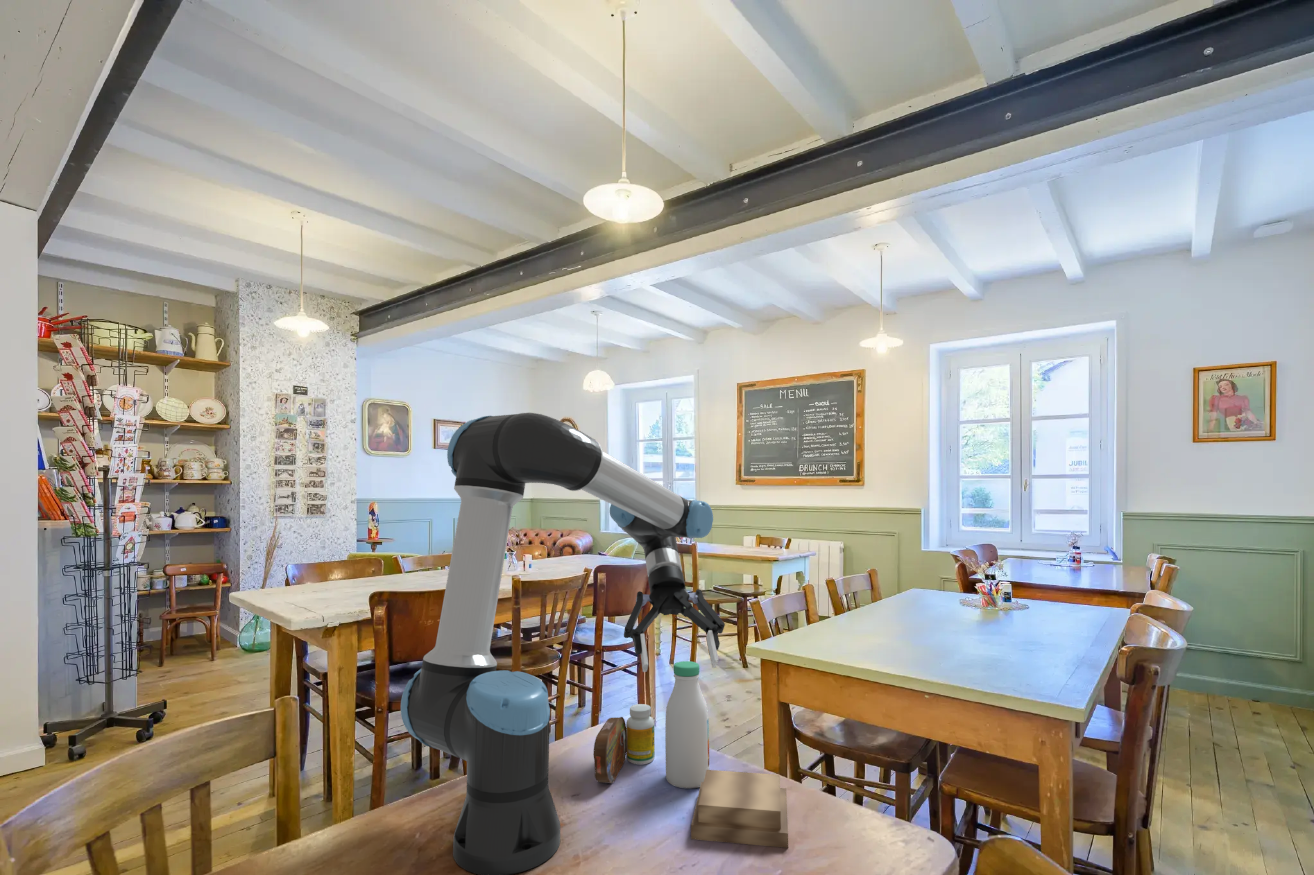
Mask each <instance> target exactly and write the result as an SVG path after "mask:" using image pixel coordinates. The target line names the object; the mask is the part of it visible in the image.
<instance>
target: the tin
mask: <svg viewBox="0 0 1314 875" xmlns="http://www.w3.org/2000/svg"><path fill="white" fill-rule="evenodd" d="M626 758H627V757H626V721H625V718H624V717H623V716H620V717H619V716H618V717H609V718H608V719H606V721H605V722H604V724H603V726H602V727H601V729H600V730H599V732H598V733H597V735H596V736H595V741H594V745H593V761H594V762H593V763H594V764H593V765H594V778H595V780H596V781H597V782H598V783H602V784H603V783H604V784H605V783H606V784H614V783H615V781H616V779H617V777H618V775H619V774H620V771H621V769H622V768H623V766H624V764H625V761H626Z"/></svg>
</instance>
